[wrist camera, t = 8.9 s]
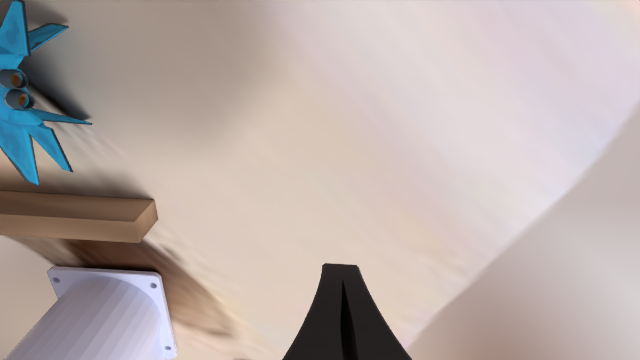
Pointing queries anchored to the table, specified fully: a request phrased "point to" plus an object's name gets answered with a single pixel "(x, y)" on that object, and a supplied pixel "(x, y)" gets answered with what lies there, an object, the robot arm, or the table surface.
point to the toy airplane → (25, 96)
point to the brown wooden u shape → (76, 216)
